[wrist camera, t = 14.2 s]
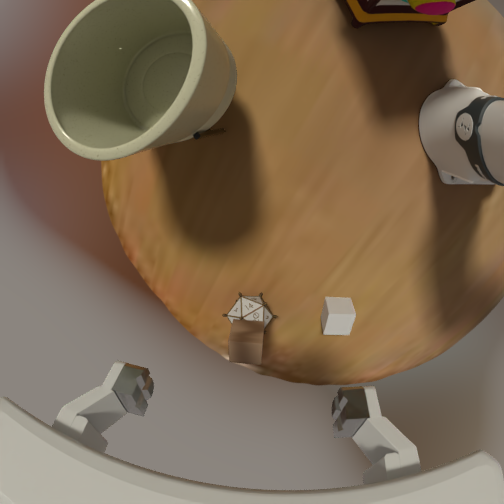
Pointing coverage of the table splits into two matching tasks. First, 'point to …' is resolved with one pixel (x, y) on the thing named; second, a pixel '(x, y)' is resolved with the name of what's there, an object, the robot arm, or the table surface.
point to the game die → (250, 310)
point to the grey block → (337, 316)
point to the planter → (137, 78)
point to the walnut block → (246, 341)
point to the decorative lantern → (402, 11)
